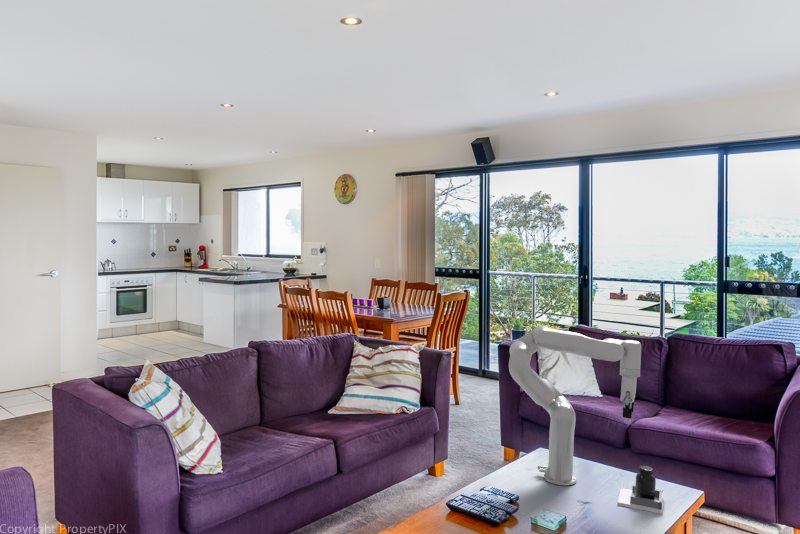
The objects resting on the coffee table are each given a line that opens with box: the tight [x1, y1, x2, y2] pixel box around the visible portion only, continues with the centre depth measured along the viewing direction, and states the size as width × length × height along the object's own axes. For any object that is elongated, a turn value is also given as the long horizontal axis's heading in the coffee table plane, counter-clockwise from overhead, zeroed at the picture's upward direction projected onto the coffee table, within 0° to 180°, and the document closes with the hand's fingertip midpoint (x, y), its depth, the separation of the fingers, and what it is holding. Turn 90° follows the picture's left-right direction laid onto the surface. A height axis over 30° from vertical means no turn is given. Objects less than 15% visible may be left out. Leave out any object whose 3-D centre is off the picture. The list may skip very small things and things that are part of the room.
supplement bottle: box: [635, 465, 657, 500], centre depth 215 cm, size 7×7×12 cm
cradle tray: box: [617, 484, 664, 515], centre depth 215 cm, size 15×14×4 cm
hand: (628, 414), depth 230 cm, fingers open, 9 cm apart
